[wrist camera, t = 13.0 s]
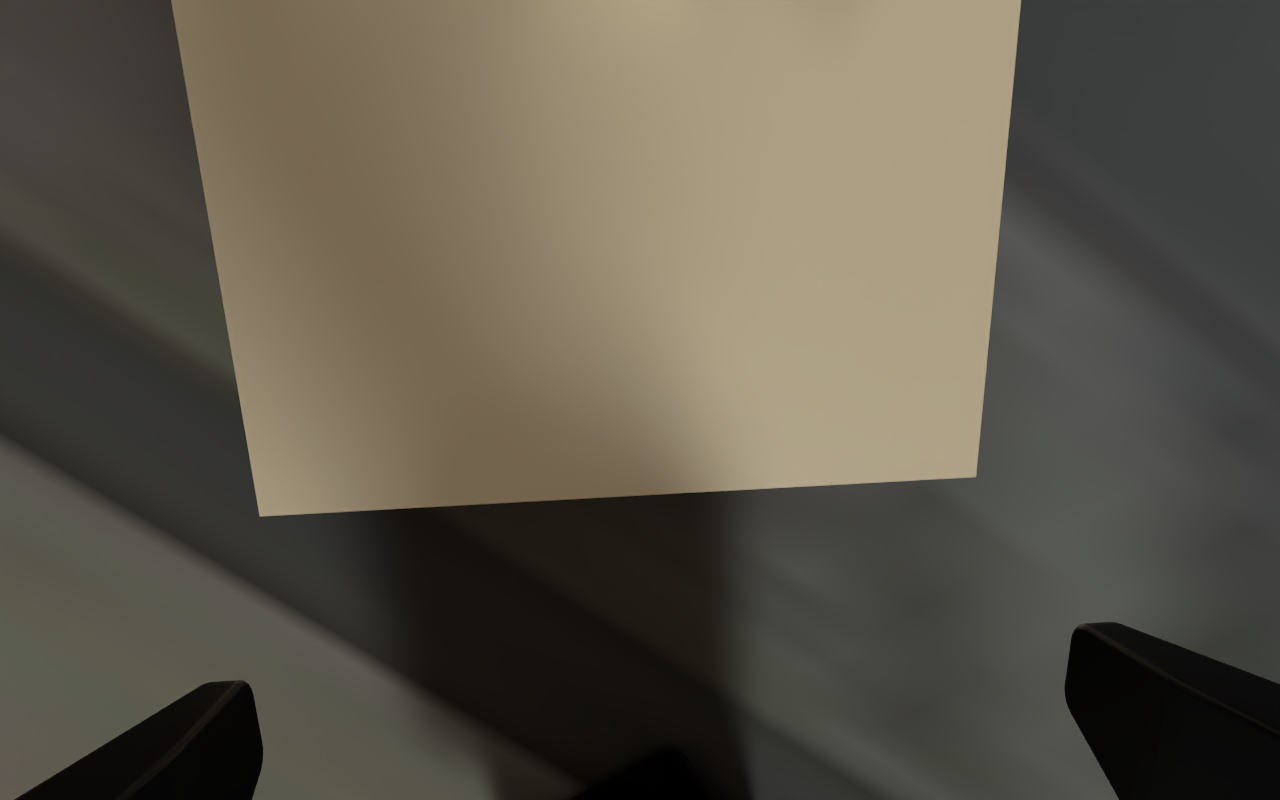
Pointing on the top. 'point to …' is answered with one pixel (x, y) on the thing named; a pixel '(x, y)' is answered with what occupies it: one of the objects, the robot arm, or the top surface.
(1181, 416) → the top surface
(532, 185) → the carton lid
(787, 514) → the top surface
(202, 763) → the robot arm
